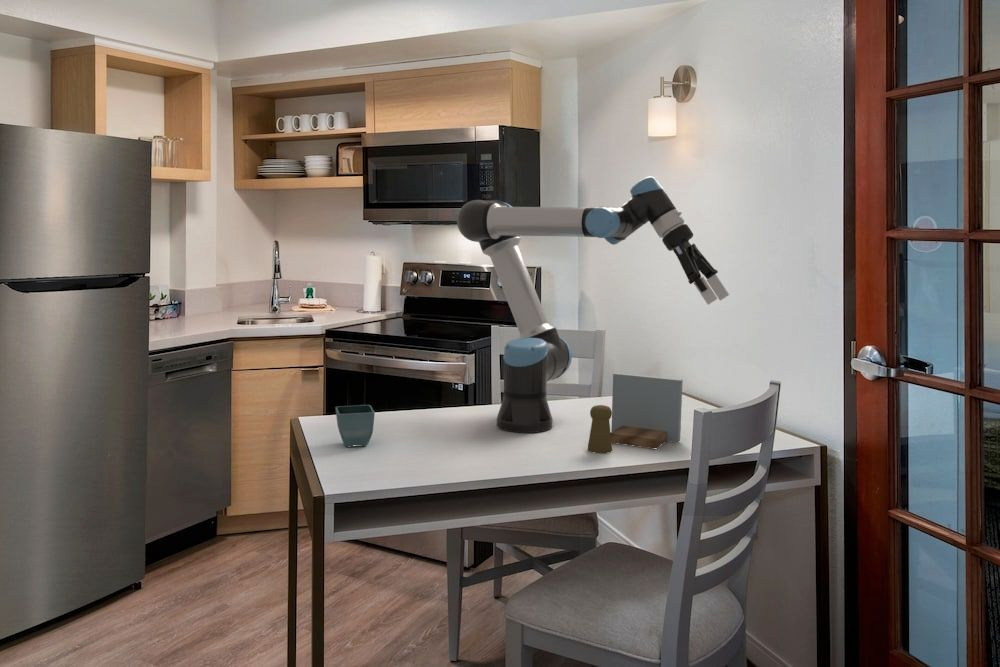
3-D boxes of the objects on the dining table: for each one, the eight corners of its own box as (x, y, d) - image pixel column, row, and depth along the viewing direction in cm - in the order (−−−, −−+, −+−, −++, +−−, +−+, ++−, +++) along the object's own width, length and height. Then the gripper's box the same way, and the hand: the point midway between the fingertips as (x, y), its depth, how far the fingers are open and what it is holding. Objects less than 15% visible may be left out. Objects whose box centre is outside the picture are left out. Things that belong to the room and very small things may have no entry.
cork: (596, 445, 212) (597, 402, 210) (617, 449, 208) (618, 405, 206) (582, 450, 207) (583, 406, 206) (603, 454, 203) (605, 409, 202)
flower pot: (338, 450, 204) (338, 413, 203) (335, 441, 212) (335, 406, 211) (375, 448, 206) (374, 412, 205) (370, 439, 215) (370, 404, 214)
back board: (611, 433, 224) (613, 373, 222) (613, 432, 225) (615, 372, 223) (678, 442, 215) (680, 380, 213) (680, 441, 217) (682, 379, 215)
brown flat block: (609, 442, 215) (610, 432, 214) (622, 435, 222) (622, 425, 222) (655, 449, 209) (656, 439, 209) (666, 441, 217) (667, 431, 216)
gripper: (672, 222, 207) (720, 295, 204) (697, 222, 229) (741, 288, 226) (647, 240, 210) (694, 311, 207) (674, 238, 232) (717, 303, 229)
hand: (719, 299), depth 216 cm, fingers open, 13 cm apart
